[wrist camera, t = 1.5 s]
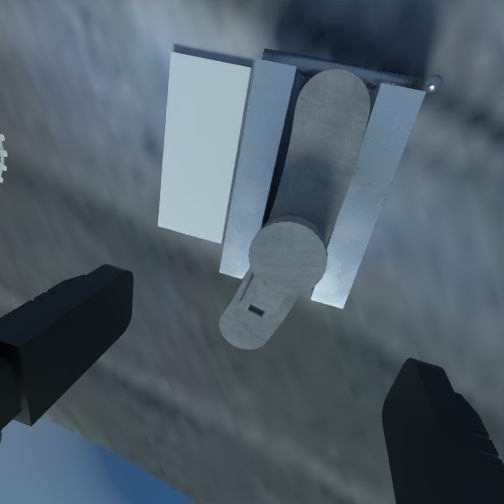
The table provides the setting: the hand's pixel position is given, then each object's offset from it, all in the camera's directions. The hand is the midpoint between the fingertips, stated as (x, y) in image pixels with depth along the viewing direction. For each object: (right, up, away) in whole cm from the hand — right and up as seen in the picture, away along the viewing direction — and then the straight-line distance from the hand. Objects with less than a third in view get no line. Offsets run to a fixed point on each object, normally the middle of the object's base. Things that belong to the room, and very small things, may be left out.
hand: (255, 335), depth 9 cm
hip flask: (+6, +9, +23) cm, 26 cm away
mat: (-6, +13, +25) cm, 28 cm away
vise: (+6, +9, +23) cm, 26 cm away
